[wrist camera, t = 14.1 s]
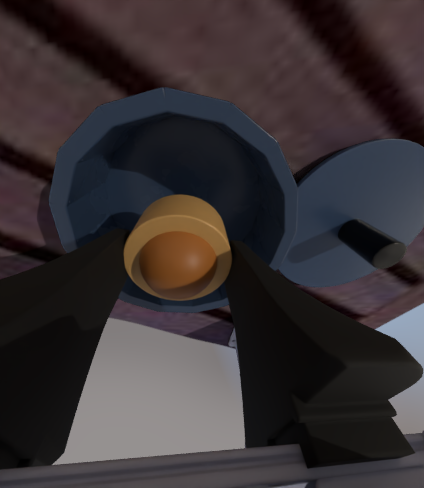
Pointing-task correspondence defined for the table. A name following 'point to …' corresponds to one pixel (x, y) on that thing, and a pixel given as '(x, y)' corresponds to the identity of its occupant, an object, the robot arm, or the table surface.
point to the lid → (357, 213)
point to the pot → (174, 178)
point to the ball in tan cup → (178, 249)
